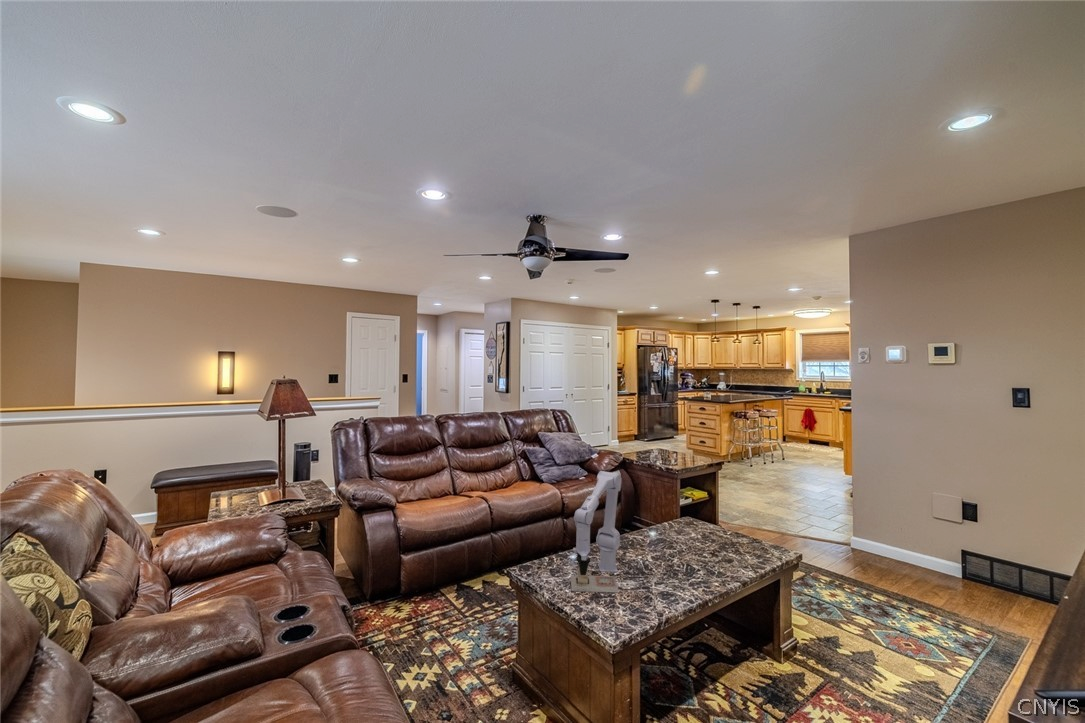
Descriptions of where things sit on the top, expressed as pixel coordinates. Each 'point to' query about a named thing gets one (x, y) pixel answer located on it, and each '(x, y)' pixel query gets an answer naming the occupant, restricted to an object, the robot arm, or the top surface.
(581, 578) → the peg
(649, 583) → the top surface
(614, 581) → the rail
